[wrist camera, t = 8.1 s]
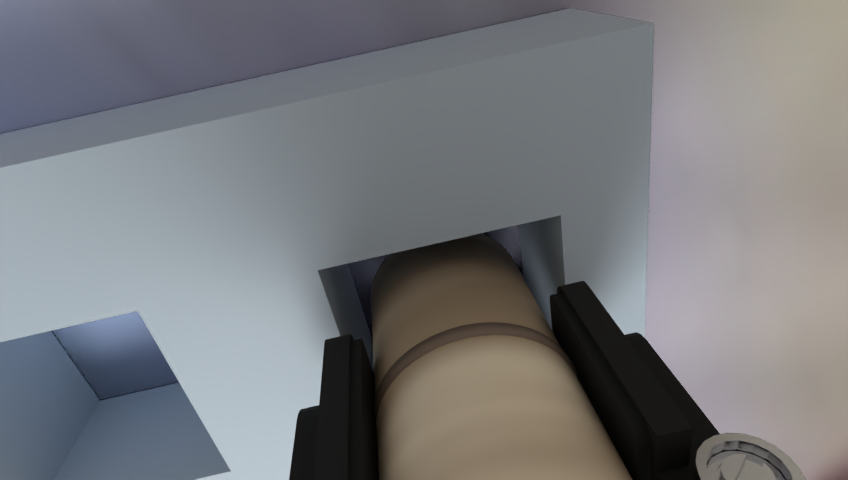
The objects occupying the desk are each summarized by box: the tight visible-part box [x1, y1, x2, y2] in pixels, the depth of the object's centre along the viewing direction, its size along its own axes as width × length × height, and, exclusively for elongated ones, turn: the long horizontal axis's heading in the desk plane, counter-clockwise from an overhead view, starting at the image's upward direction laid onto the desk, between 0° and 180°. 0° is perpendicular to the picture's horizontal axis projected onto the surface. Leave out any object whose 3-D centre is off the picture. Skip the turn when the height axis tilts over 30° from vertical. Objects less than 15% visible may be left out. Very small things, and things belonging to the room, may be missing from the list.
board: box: [0, 8, 654, 480], centre depth 13 cm, size 18×12×4 cm, turn 101°
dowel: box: [371, 233, 633, 480], centre depth 9 cm, size 4×4×9 cm
